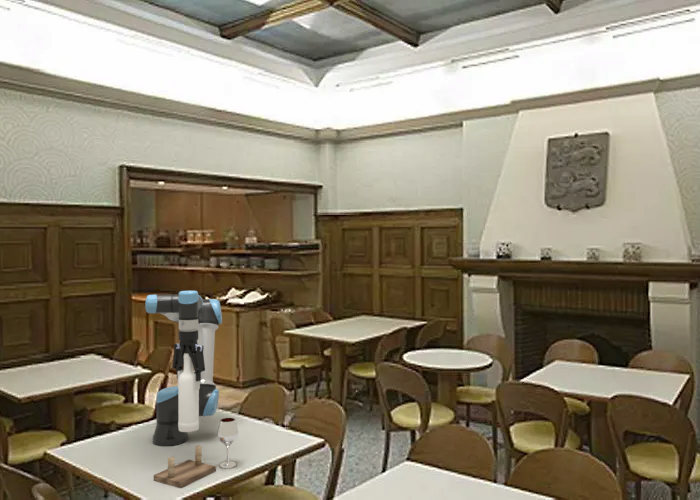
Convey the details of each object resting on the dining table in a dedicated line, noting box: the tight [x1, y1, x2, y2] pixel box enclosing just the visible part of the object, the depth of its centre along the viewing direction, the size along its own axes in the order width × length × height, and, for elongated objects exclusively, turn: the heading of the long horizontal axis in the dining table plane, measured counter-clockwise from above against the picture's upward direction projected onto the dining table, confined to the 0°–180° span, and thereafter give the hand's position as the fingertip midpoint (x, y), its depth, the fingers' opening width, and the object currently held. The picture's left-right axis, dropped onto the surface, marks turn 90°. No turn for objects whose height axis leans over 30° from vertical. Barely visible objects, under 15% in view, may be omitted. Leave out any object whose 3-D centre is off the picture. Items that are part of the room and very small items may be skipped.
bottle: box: [177, 353, 200, 433], centre depth 233 cm, size 8×8×30 cm
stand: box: [153, 444, 217, 489], centre depth 224 cm, size 14×18×9 cm
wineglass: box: [216, 417, 239, 469], centre depth 235 cm, size 8×8×18 cm
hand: (188, 388), depth 233 cm, fingers closed on bottle, 8 cm apart
